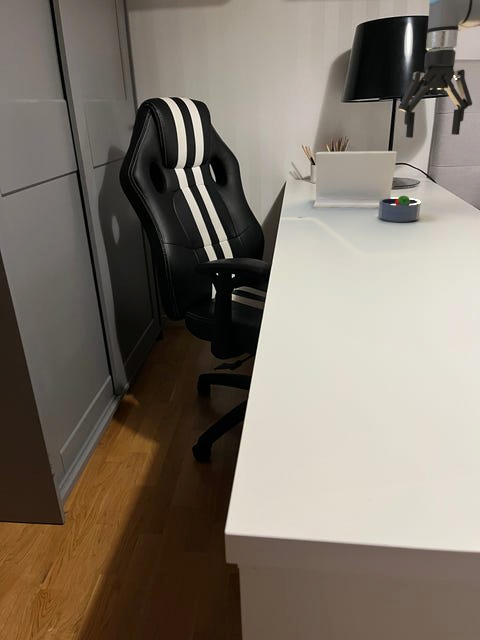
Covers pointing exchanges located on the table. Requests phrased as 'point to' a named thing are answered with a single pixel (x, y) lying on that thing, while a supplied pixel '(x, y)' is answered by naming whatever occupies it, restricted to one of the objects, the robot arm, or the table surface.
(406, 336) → the table surface
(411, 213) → the bowl
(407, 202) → the strawberry
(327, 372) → the table surface
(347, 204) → the tablet stand
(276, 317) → the table surface
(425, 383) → the table surface
